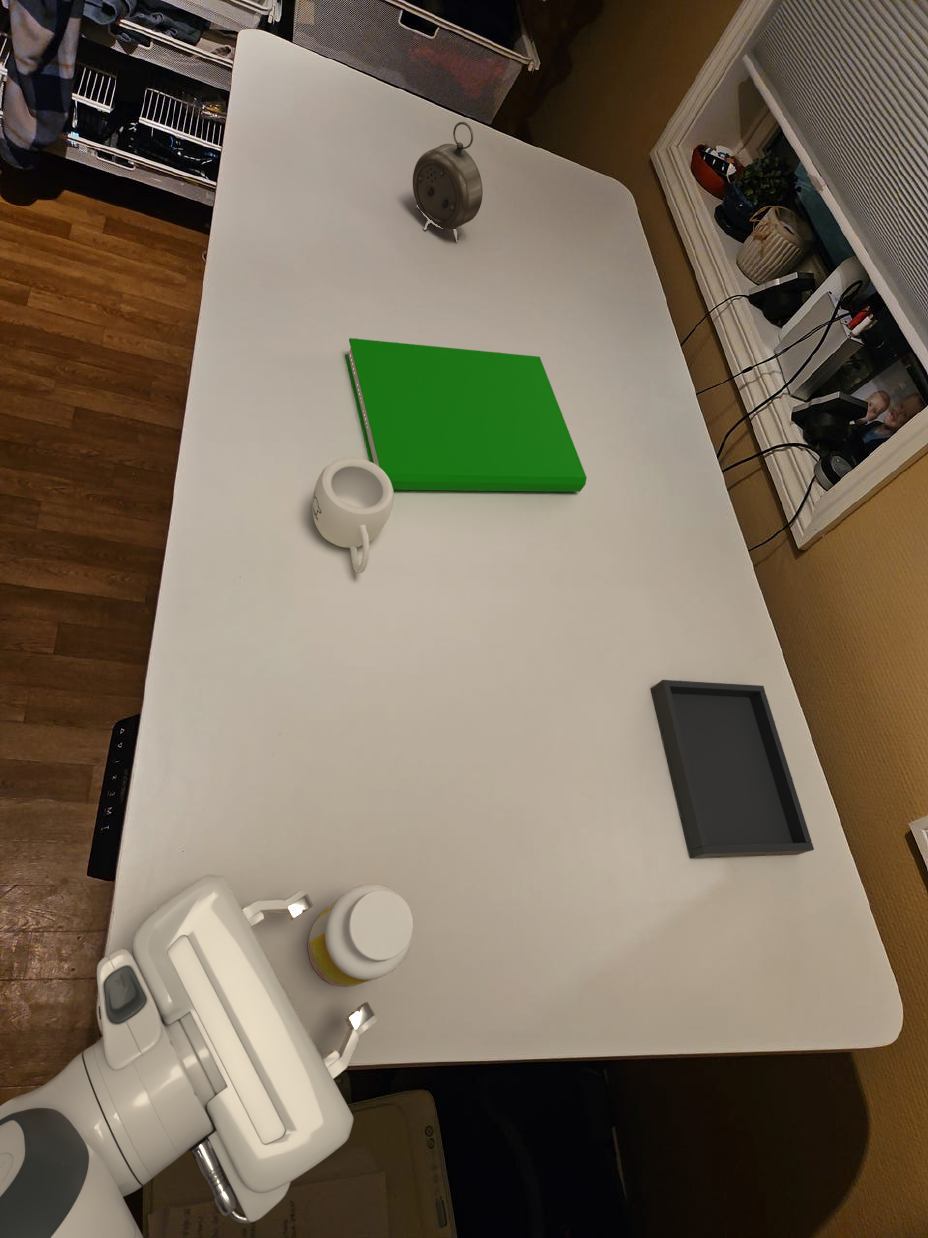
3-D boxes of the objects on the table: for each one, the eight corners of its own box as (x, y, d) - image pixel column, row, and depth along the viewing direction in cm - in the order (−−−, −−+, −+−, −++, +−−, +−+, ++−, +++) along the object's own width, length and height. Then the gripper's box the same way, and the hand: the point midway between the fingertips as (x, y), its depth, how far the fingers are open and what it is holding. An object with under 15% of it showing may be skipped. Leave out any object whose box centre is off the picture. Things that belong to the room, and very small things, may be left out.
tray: (797, 854, 81) (814, 849, 79) (689, 858, 76) (704, 854, 74) (749, 693, 90) (763, 685, 88) (650, 688, 86) (662, 679, 83)
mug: (300, 496, 82) (311, 451, 76) (372, 496, 85) (388, 452, 79) (318, 587, 77) (331, 547, 71) (393, 583, 81) (412, 544, 74)
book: (345, 355, 95) (349, 337, 93) (531, 372, 106) (539, 356, 104) (377, 493, 86) (383, 477, 83) (577, 494, 97) (587, 480, 95)
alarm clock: (467, 243, 117) (505, 142, 103) (447, 253, 114) (483, 150, 100) (418, 202, 118) (449, 96, 104) (397, 210, 115) (426, 102, 101)
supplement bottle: (369, 998, 60) (410, 991, 50) (294, 972, 59) (320, 959, 49) (394, 916, 64) (437, 893, 53) (324, 890, 63) (354, 862, 52)
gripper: (237, 1255, 42) (425, 1086, 49) (88, 939, 47) (278, 828, 54) (231, 1231, 47) (401, 1081, 54) (96, 949, 52) (269, 846, 59)
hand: (339, 953), depth 54 cm, fingers open, 8 cm apart
